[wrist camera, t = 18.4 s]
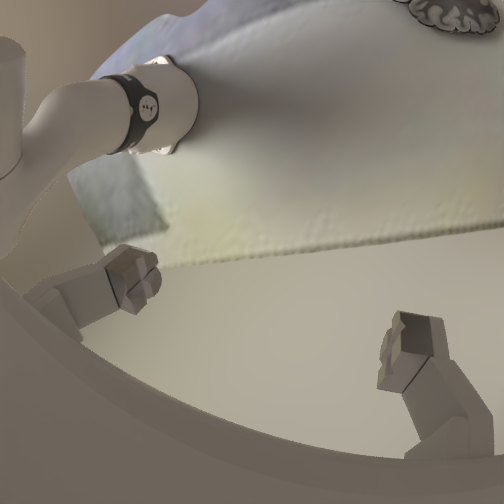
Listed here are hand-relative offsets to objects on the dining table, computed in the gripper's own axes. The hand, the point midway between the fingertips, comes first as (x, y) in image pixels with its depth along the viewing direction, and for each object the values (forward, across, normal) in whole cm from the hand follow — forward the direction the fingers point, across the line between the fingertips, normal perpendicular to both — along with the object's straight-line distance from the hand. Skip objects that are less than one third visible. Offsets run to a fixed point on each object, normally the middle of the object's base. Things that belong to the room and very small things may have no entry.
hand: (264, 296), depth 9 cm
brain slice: (+35, -13, -28) cm, 46 cm away
